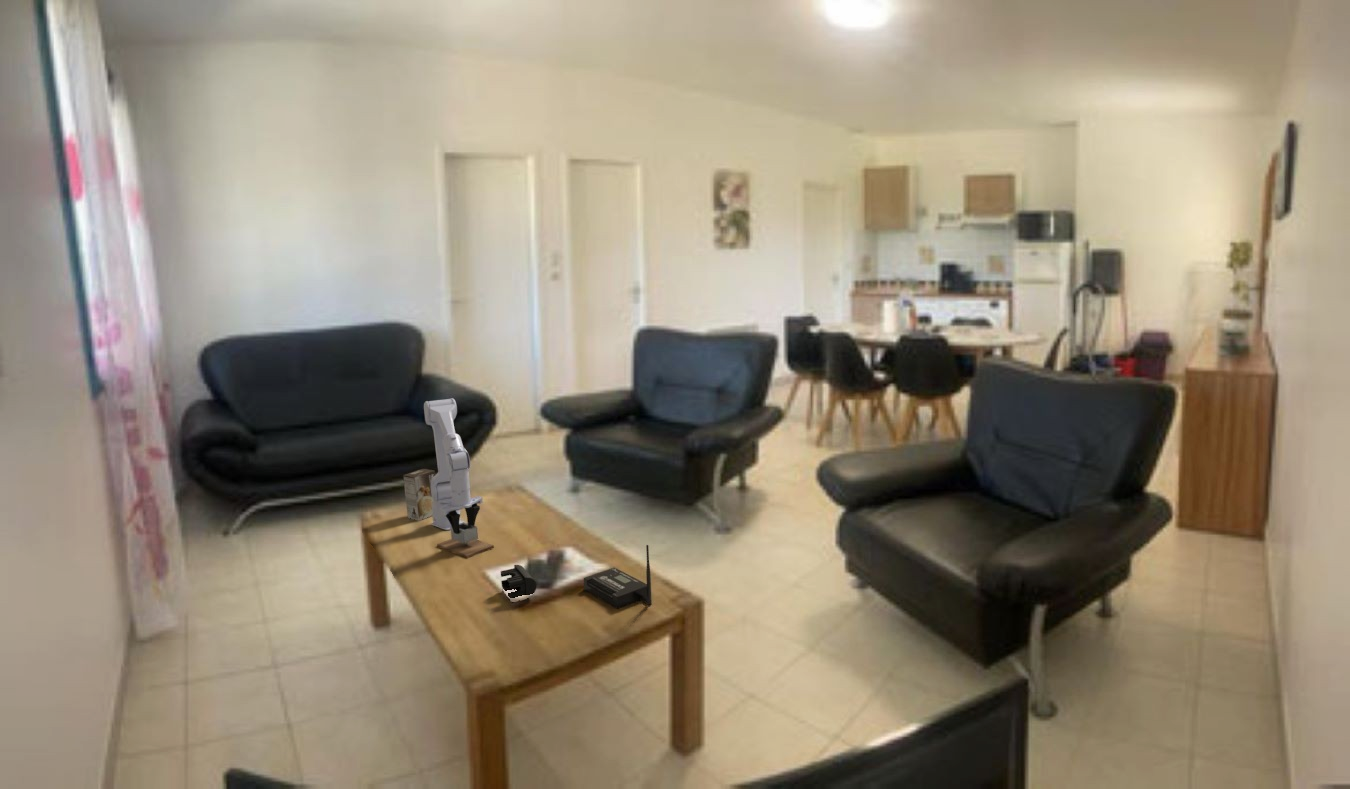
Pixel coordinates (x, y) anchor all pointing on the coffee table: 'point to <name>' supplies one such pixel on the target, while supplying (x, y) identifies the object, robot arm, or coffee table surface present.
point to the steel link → (465, 533)
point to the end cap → (518, 582)
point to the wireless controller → (619, 587)
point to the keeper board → (465, 547)
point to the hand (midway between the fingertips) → (463, 530)
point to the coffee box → (419, 493)
